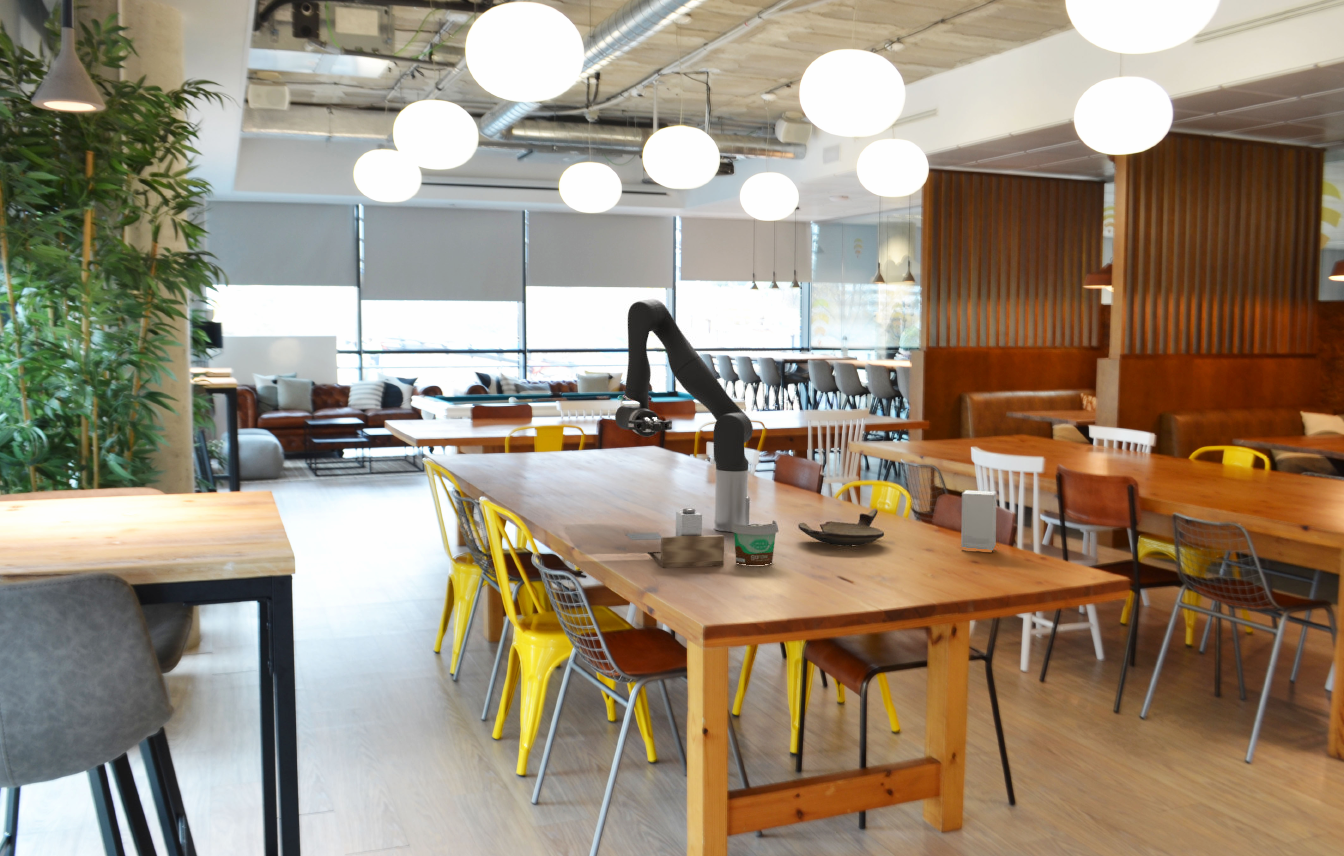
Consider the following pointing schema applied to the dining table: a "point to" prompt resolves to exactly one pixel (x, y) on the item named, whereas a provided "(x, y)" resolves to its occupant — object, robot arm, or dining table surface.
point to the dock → (690, 551)
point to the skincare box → (978, 519)
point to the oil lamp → (846, 531)
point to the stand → (643, 536)
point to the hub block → (688, 523)
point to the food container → (754, 543)
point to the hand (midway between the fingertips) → (657, 427)
